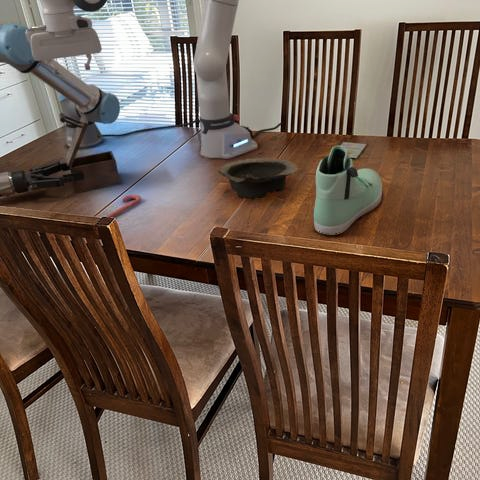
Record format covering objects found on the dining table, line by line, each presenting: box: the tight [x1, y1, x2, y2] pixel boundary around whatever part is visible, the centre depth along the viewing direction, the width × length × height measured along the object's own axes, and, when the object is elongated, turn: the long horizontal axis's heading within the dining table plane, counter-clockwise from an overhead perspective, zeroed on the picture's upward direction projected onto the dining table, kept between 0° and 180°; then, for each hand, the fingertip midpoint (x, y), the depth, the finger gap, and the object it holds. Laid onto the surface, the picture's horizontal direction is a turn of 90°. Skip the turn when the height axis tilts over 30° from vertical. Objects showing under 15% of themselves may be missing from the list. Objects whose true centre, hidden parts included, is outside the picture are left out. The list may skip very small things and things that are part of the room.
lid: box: [58, 112, 88, 167], centre depth 157 cm, size 16×10×8 cm
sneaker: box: [313, 145, 383, 236], centre depth 133 cm, size 14×35×20 cm, turn 152°
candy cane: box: [106, 194, 142, 218], centre depth 149 cm, size 6×15×2 cm, turn 145°
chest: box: [69, 150, 121, 194], centre depth 165 cm, size 15×10×9 cm, turn 111°
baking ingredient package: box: [340, 141, 367, 159], centre depth 177 cm, size 9×1×15 cm
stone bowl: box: [217, 157, 299, 201], centre depth 152 cm, size 25×25×9 cm
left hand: (82, 169), depth 163 cm, fingers open, 10 cm apart
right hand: (72, 71), depth 148 cm, fingers open, 8 cm apart
